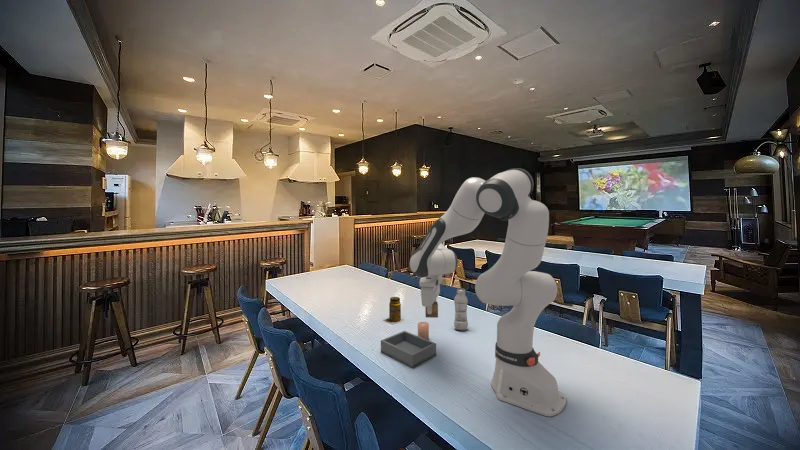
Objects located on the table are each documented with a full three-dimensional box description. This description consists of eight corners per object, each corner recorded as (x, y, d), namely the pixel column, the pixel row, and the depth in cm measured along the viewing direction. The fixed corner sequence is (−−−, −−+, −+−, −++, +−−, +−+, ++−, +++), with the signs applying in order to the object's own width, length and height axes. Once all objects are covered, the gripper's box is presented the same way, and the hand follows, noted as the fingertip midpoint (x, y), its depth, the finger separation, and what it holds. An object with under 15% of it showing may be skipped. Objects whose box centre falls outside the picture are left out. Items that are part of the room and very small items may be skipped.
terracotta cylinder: (430, 338, 140) (431, 323, 139) (423, 342, 136) (423, 326, 136) (422, 335, 143) (422, 321, 143) (415, 338, 140) (415, 323, 139)
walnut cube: (437, 317, 125) (437, 305, 124) (425, 317, 125) (425, 305, 125) (437, 313, 130) (437, 301, 129) (425, 313, 130) (425, 301, 130)
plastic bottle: (468, 332, 146) (468, 291, 145) (453, 331, 148) (453, 290, 146) (467, 327, 153) (468, 287, 151) (454, 326, 154) (454, 287, 153)
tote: (436, 355, 124) (436, 343, 124) (412, 368, 114) (412, 355, 114) (404, 341, 137) (404, 330, 137) (380, 352, 127) (380, 340, 127)
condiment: (404, 320, 163) (404, 298, 162) (392, 324, 157) (392, 301, 156) (394, 316, 168) (394, 295, 167) (383, 320, 162) (382, 298, 161)
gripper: (429, 272, 137) (429, 302, 138) (418, 283, 118) (418, 318, 118) (443, 273, 135) (443, 303, 136) (434, 284, 116) (434, 320, 117)
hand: (431, 310), depth 127 cm, fingers closed on walnut cube, 6 cm apart
